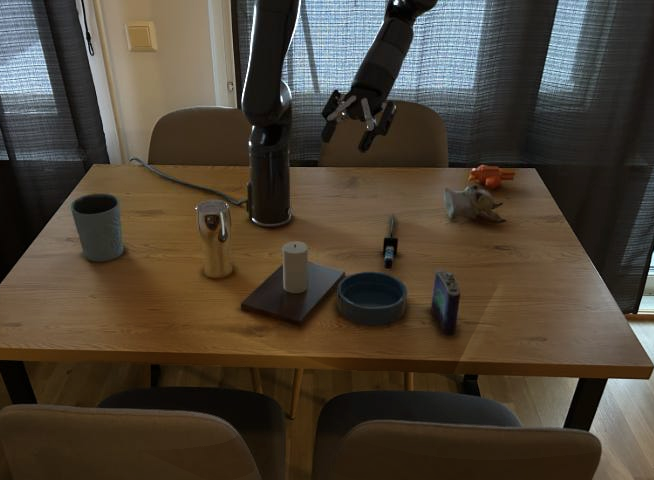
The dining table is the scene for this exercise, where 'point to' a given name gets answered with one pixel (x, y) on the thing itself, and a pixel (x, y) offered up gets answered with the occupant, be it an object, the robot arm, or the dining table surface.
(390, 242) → the knife
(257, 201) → the robot arm
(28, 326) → the dining table surface
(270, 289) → the cutting board
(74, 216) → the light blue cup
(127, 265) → the dining table surface
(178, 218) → the dining table surface
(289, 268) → the candle
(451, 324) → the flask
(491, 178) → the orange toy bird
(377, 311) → the bowl
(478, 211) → the ceramic sculpture
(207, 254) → the beer glass
